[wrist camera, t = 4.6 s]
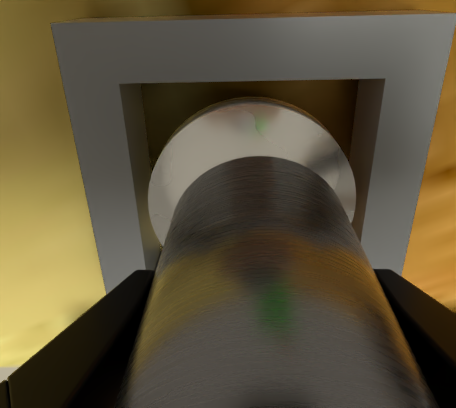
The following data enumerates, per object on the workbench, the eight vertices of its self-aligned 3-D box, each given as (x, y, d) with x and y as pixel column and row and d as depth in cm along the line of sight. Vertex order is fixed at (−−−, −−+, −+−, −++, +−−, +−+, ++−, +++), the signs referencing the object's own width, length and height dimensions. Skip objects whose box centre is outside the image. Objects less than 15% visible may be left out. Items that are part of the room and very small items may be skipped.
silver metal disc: (359, 94, 11) (369, 103, 10) (337, 270, 14) (344, 289, 13) (143, 98, 11) (135, 107, 10) (163, 271, 14) (158, 290, 13)
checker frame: (418, 9, 12) (458, 13, 10) (371, 281, 16) (390, 323, 14) (83, 18, 12) (50, 23, 10) (128, 282, 17) (112, 323, 15)
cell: (337, 305, 11) (482, 774, 4) (177, 305, 11) (87, 759, 5) (357, 154, 9) (682, 602, 2) (162, 157, 9) (-43, 583, 3)
